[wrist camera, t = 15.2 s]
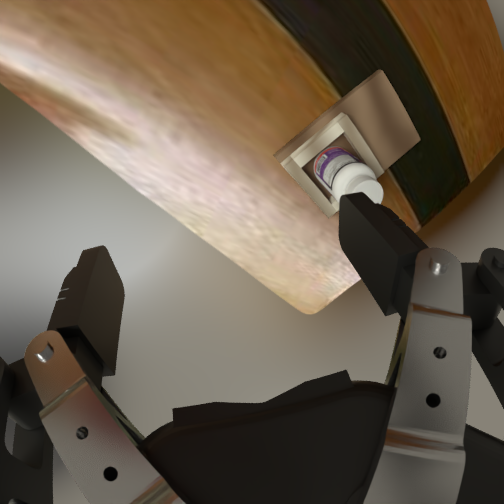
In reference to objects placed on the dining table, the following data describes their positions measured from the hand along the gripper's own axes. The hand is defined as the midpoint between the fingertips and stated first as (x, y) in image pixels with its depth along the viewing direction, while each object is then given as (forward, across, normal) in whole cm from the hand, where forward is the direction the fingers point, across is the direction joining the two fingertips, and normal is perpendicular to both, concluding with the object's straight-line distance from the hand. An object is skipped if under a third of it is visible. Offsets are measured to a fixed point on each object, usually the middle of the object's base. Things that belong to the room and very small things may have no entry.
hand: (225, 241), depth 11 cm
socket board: (+28, -19, +8) cm, 35 cm away
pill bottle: (+27, -15, +10) cm, 33 cm away
